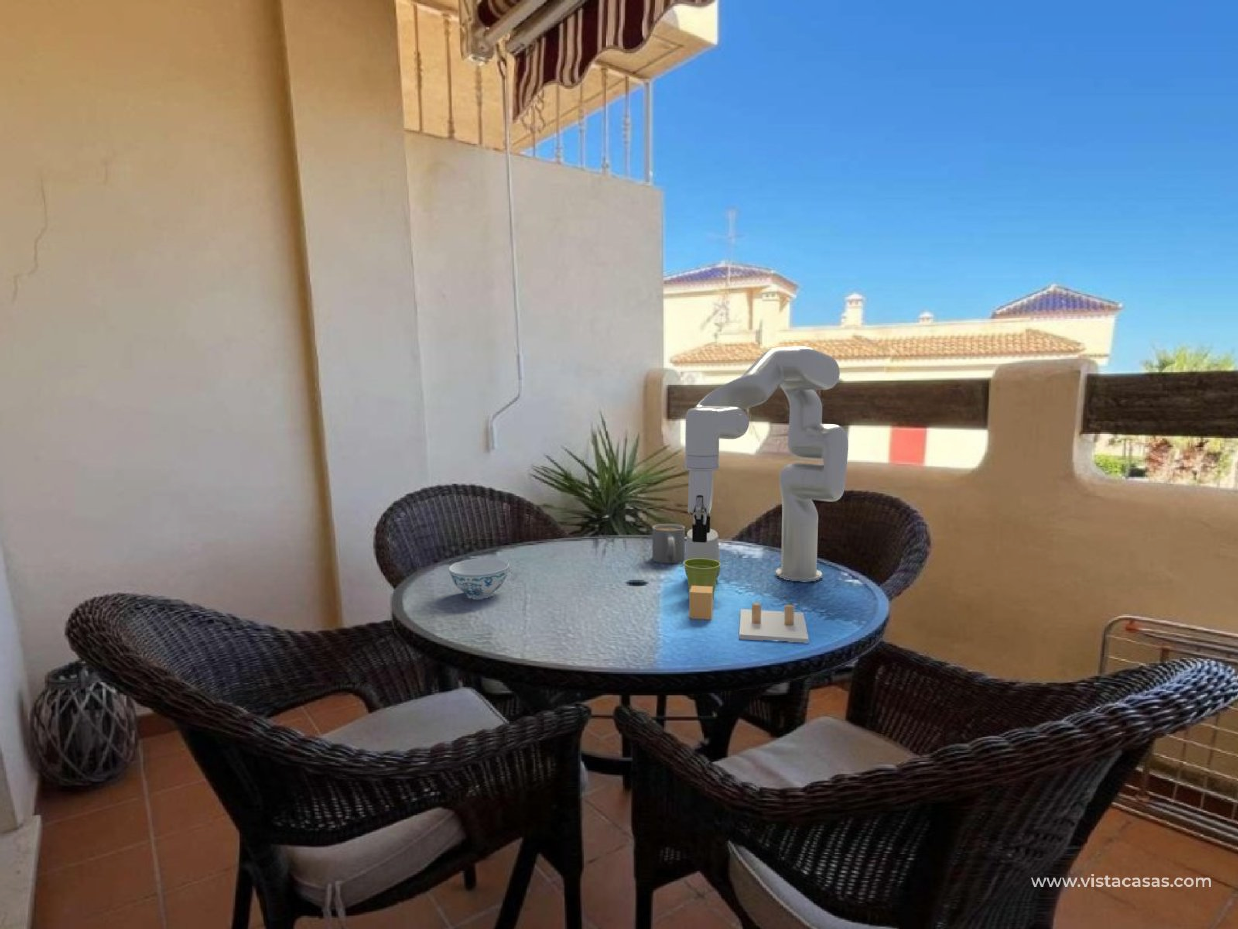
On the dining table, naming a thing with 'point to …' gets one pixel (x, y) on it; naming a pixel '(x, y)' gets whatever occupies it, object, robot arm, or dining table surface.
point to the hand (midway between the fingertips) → (701, 537)
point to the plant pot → (701, 572)
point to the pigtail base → (772, 624)
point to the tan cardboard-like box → (701, 602)
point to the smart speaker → (703, 548)
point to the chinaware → (479, 576)
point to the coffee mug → (668, 543)
